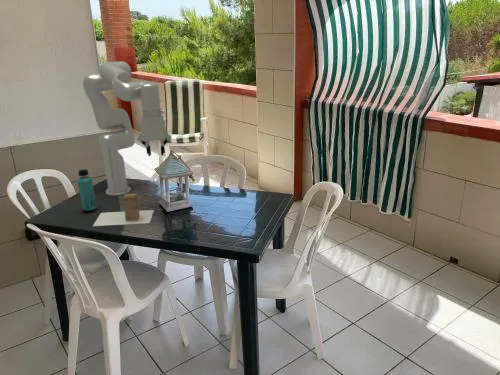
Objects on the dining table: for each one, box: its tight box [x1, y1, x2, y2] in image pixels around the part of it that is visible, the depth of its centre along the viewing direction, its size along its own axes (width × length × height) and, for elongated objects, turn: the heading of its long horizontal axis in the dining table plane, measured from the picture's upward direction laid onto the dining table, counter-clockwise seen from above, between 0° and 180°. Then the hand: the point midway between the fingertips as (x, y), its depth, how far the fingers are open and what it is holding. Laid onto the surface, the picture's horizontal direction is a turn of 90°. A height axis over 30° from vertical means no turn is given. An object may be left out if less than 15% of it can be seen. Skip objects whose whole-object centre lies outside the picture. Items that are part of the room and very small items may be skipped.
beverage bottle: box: [77, 168, 97, 212], centre depth 185 cm, size 6×7×20 cm
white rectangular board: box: [92, 209, 155, 227], centre depth 180 cm, size 14×24×1 cm, turn 95°
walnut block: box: [122, 193, 140, 222], centre depth 176 cm, size 5×5×11 cm
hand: (156, 154), depth 176 cm, fingers open, 4 cm apart
